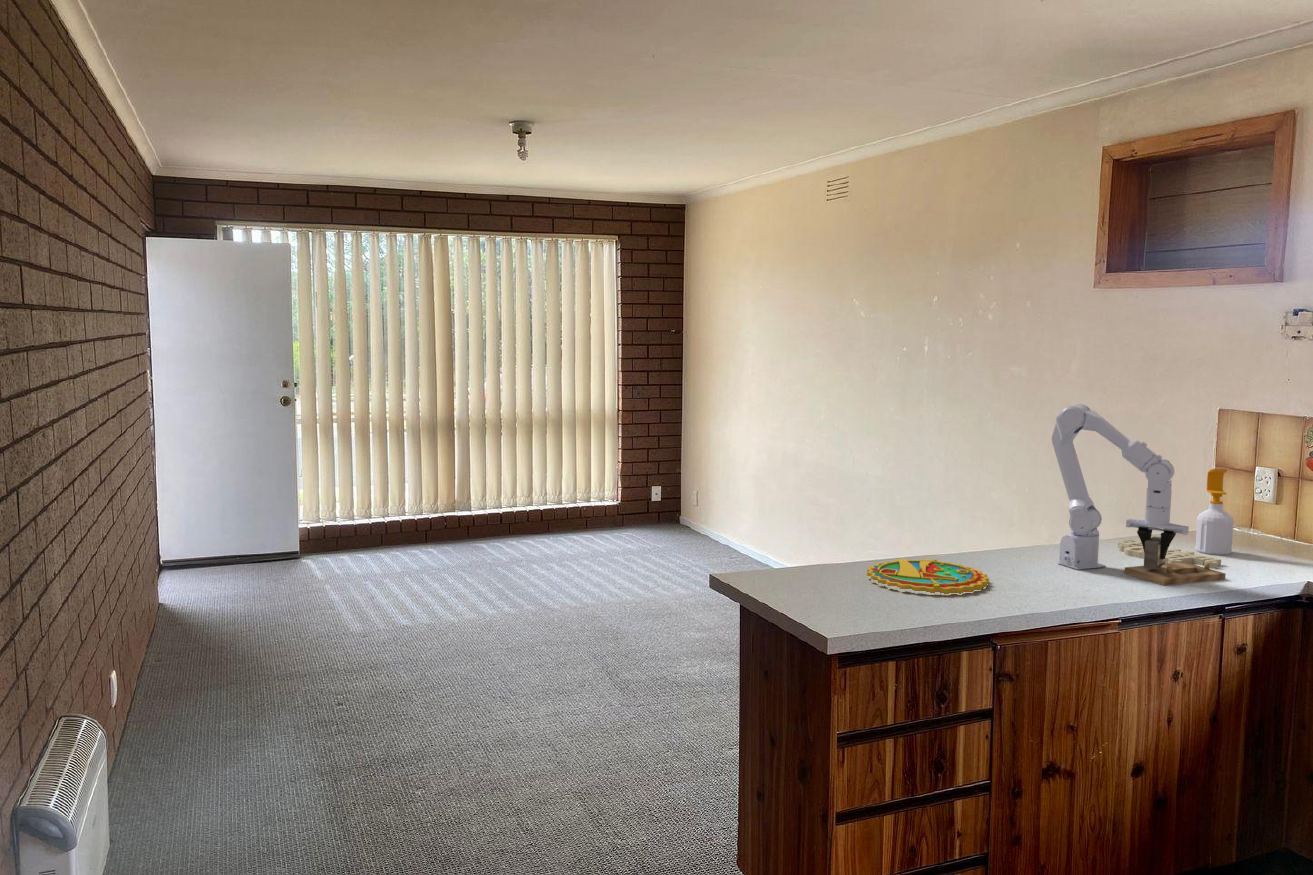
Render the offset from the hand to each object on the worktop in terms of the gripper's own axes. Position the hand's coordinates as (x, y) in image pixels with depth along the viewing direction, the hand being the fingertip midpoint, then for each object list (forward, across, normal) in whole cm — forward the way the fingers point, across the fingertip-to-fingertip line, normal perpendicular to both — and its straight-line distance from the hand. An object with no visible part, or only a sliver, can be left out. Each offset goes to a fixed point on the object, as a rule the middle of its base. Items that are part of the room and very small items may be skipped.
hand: (1154, 557), depth 250 cm
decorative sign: (+5, +4, -24) cm, 25 cm away
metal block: (+2, 0, 0) cm, 2 cm away
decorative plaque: (+6, +42, +45) cm, 62 cm away
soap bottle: (+5, -5, -41) cm, 42 cm away
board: (+5, -4, -2) cm, 7 cm away
